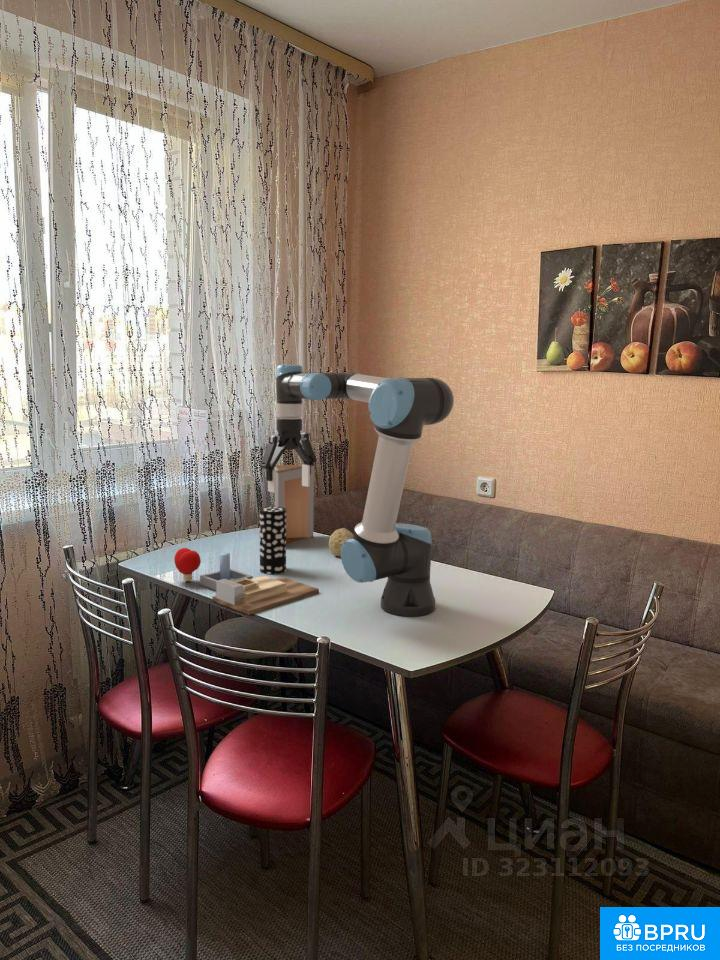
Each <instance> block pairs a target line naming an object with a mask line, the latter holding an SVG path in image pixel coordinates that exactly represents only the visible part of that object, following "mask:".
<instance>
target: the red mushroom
mask: <svg viewBox="0 0 720 960" xmlns="http://www.w3.org/2000/svg"><path fill="white" fill-rule="evenodd" d="M174 565H175V567H176V569H177V570H178V572H179V573H180V574H181V575H182V577H183V581H185V582H186V583H190V582H191V581H192V580H193V572H195V571H196V570H198V569H199V568H200V566H201V556H200V554H199V553H198V551H196V550H192V549H190V548H187V547H182V548H179V549H178V550H177V551H176V552H175V555H174Z"/></svg>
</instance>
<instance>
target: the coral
mask: <svg viewBox="0 0 720 960" xmlns="http://www.w3.org/2000/svg"><path fill="white" fill-rule="evenodd" d="M353 534H354V533H353V532H352V531H350V530H349V529H348V528H345V527H342V528H338V529H335V530H334V531H333V533H331V535H330V537H329V540H328V547H329V550H330V552H331V554H332V555H333V556H334V557H338V558H339V557H340V558H341V547H342V545H343V543H344V542H345V541H346V540H348V539H352V538H353Z"/></svg>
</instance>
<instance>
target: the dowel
mask: <svg viewBox="0 0 720 960" xmlns="http://www.w3.org/2000/svg"><path fill="white" fill-rule="evenodd" d="M230 569H231V554H230V552H220V553H219V571H220V580H222V579H228V580H230Z"/></svg>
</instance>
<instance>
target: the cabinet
mask: <svg viewBox="0 0 720 960" xmlns="http://www.w3.org/2000/svg"><path fill="white" fill-rule="evenodd" d="M302 465H303V464H276V466H275V467H274V470H276V492H274V507H283V508H286V547H288V546H291V545H294V544H298V543H300V542H303V541H306V540H309V539H312V538H314V513H315V512H314V510H315V509H314V508H315V507H314V506H315V505H314V503H315V502H314V501H315V500H314V499H315V497H314V496H315V492H314V491H315V486H314V485H315V464H314V465H311V475H310V487H306V486H302Z"/></svg>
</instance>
